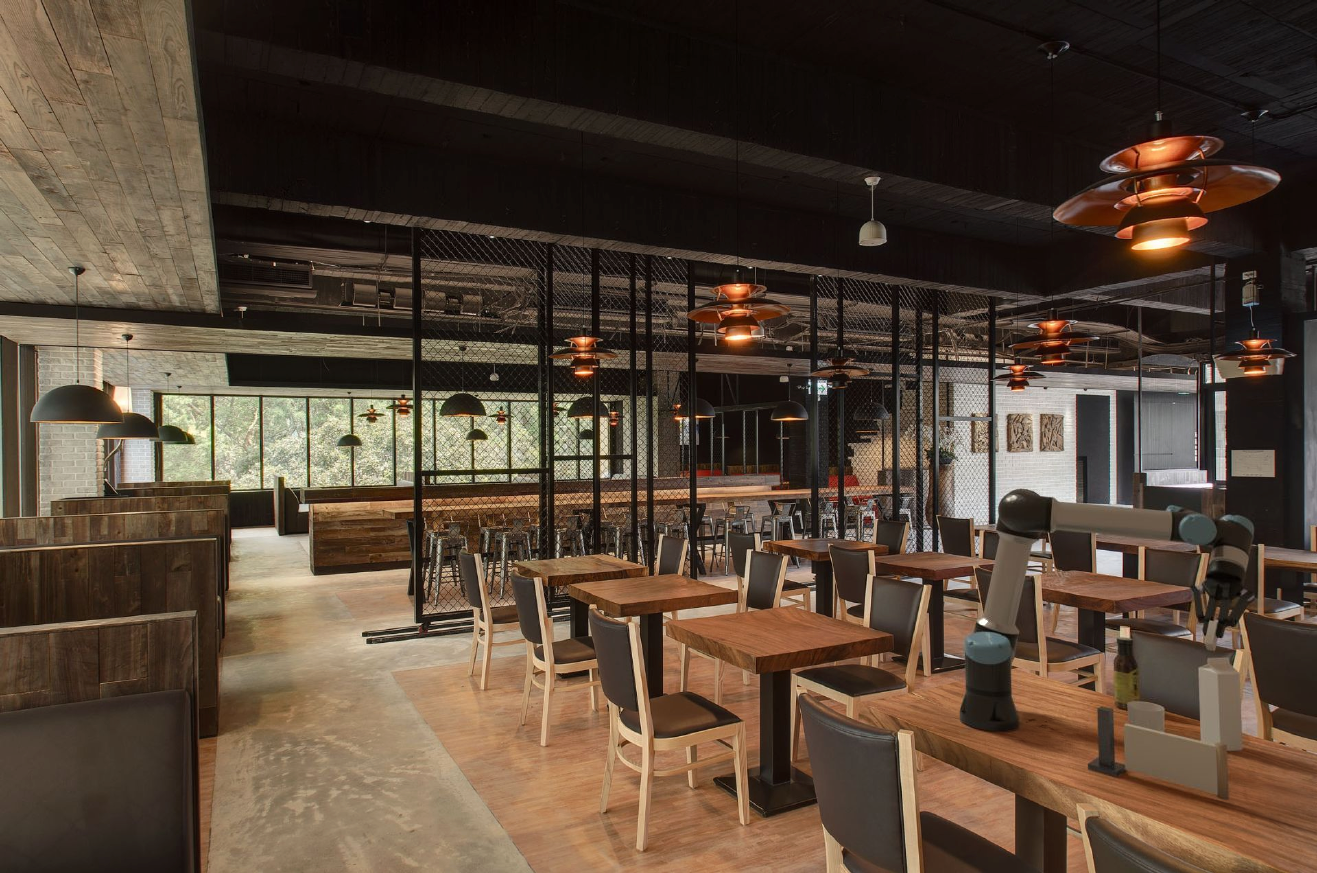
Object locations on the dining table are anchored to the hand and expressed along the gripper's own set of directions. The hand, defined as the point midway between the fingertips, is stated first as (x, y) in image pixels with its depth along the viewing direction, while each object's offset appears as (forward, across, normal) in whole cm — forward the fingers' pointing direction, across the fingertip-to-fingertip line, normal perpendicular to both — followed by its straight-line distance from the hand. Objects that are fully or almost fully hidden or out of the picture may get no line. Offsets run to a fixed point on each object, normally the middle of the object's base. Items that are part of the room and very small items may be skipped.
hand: (1209, 647), depth 174 cm
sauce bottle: (-3, +29, -42) cm, 51 cm away
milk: (+8, +3, -32) cm, 33 cm away
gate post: (+34, +16, -6) cm, 38 cm away
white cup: (+18, +15, -22) cm, 32 cm away
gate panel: (+33, +2, -5) cm, 34 cm away
